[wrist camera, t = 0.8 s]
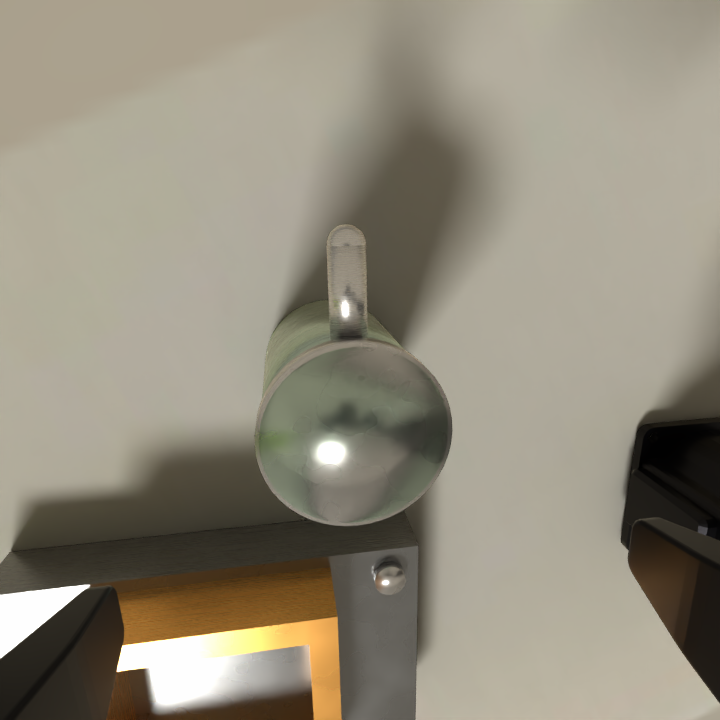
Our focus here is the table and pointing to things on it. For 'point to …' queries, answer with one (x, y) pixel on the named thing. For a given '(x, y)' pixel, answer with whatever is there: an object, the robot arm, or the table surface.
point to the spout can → (347, 405)
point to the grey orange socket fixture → (243, 619)
